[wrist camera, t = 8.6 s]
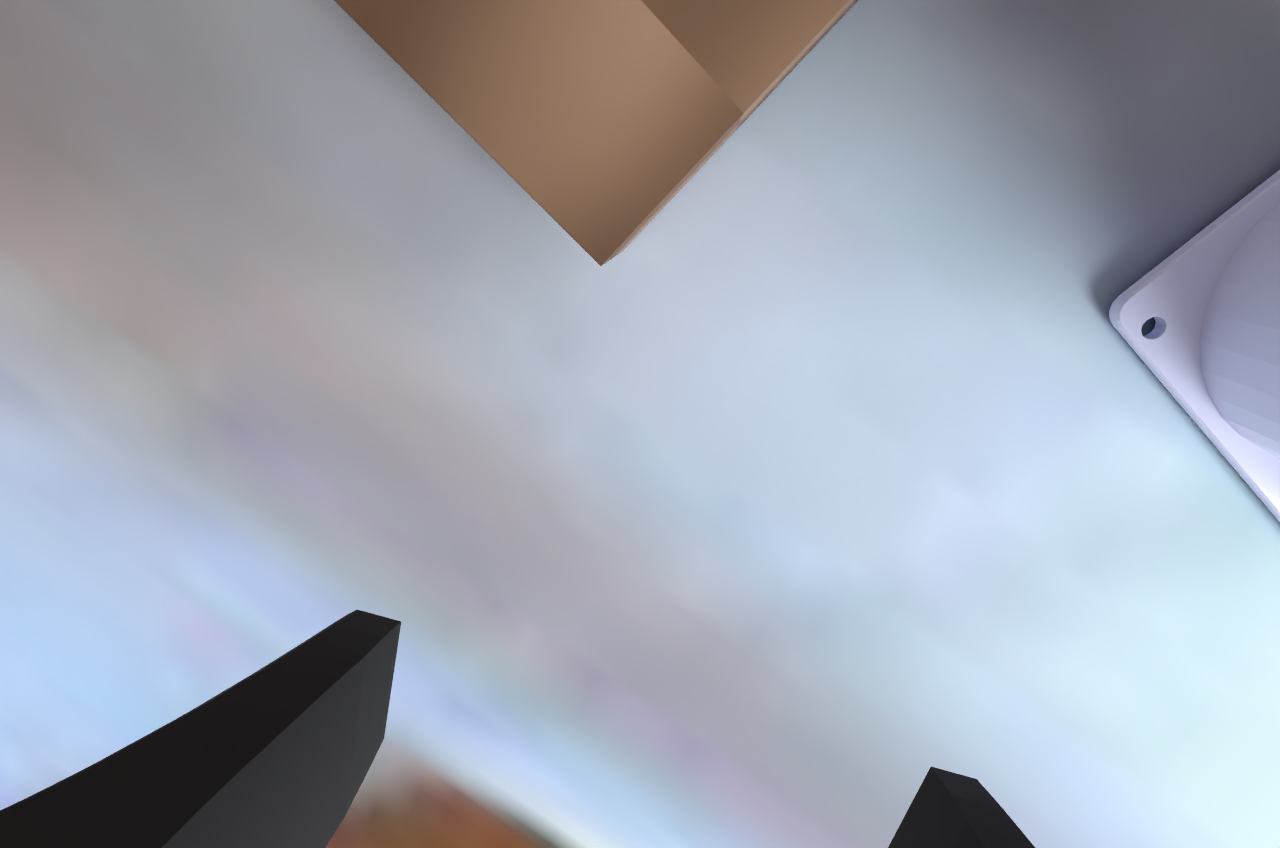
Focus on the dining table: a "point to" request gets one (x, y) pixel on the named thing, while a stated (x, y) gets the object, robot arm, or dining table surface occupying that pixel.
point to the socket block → (598, 89)
